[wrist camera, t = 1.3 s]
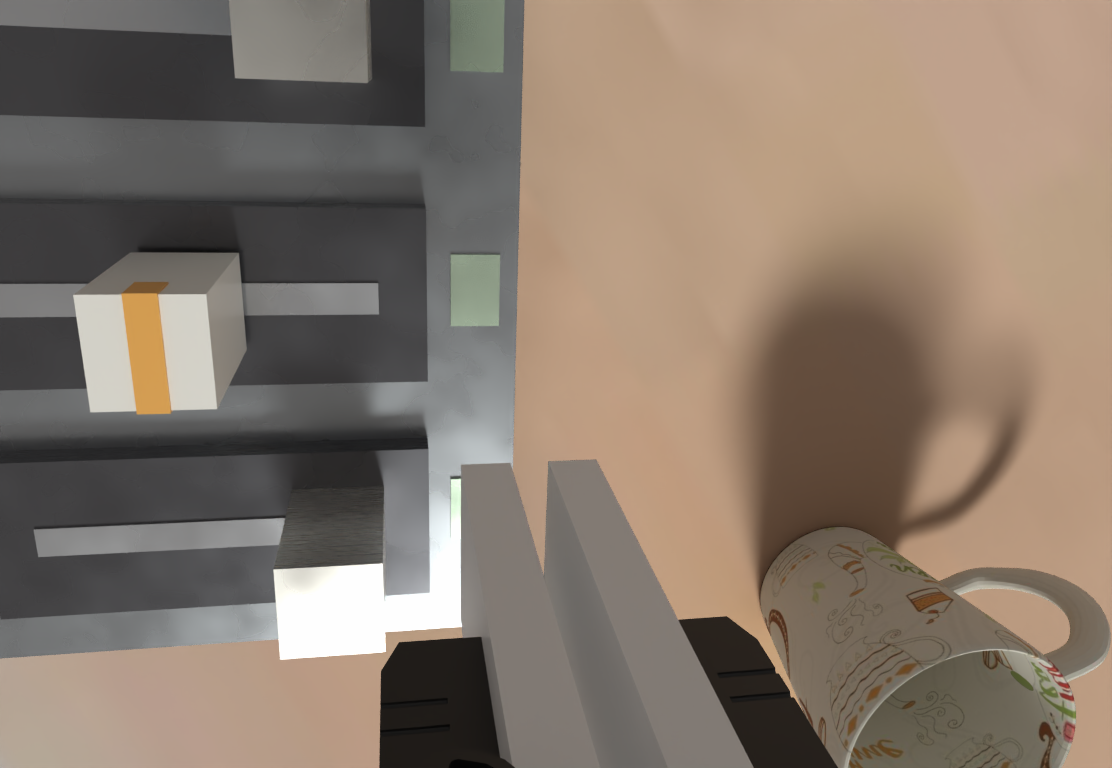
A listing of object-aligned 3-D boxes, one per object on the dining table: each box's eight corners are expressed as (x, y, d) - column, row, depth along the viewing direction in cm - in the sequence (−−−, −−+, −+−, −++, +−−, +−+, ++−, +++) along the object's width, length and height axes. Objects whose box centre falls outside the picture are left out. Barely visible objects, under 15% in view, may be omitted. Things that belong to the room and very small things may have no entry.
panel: (-231, -206, 24) (-516, -326, 16) (518, -144, 27) (566, -221, 20) (-46, 628, 32) (-176, 797, 25) (502, 594, 36) (532, 734, 28)
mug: (714, 539, 37) (823, 701, 27) (994, 441, 37) (1192, 566, 28) (753, 692, 40) (863, 884, 31) (1011, 598, 41) (1194, 758, 31)
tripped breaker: (130, 250, 26) (71, 293, 21) (238, 251, 26) (205, 293, 22) (142, 352, 27) (89, 415, 22) (246, 351, 27) (216, 412, 23)
